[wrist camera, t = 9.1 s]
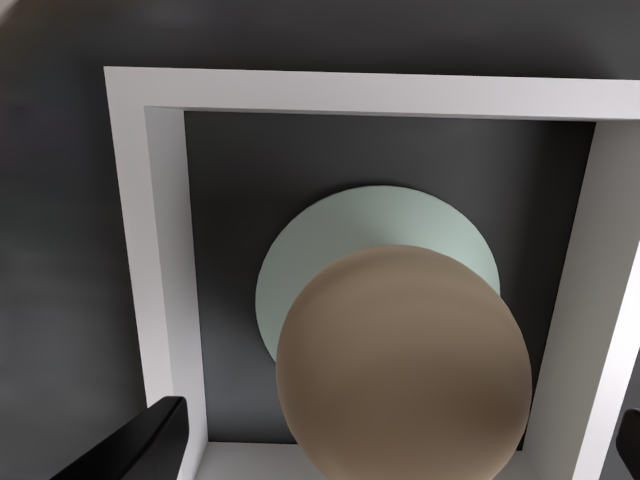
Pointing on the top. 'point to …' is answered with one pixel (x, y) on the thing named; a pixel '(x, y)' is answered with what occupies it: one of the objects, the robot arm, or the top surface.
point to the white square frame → (384, 229)
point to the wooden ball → (403, 369)
